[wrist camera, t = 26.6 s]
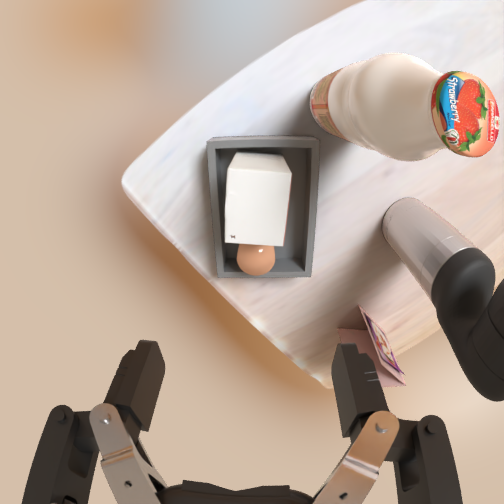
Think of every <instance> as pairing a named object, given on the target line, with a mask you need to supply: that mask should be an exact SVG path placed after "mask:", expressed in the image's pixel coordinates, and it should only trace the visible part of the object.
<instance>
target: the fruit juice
mask: <svg viewBox="0 0 504 504" xmlns="http://www.w3.org/2000/svg"><path fill="white" fill-rule="evenodd" d="M310 110H311V113H312V115H313V117H314V119H315V121H316V122H317V123H318V125H319V126H320V127H321V128H322V129H324V130H325V131H326V132H328V133H330V134H332V135H335V136H337V137H340V138H342V139H345V140H347V141H349V142H352V143H354V144H356V145H358V146H361V147H363V148H367V149H370V150H375V151H378V152H379V153H381V154H383V155H385V156H387V157H390V158H393V159H396V160H400V161H419V160H423V159H426V158H428V157H430V156H432V155H434V154H435V153H437V152H438V151H439V150H441V149H445V148H448V149H449V150H451V151H453V152H454V153H456V154H459V155H462V156H466V157H480V156H482V155H484V154H486V153H487V152H488V151H489V150H490V149H491V148H492V147H493V145H494V143H495V141H496V139H497V136H498V131H499V112H498V107H497V104H496V101H495V98H494V96H493V94H492V92H491V91H490V89H489V88H488V86H487V85H486V84H485V83H484V82H483V81H482V80H481V79H480V78H478V77H477V76H475V75H473V74H470V73H467V72H461V71H451V72H448V73H444V74H443V73H441V72H438V71H436V70H434V69H433V68H432V67H431V66H430V65H429V64H427V63H426V62H424V61H423V60H421V59H419V58H417V57H414V56H412V55H408V54H404V53H386V54H381V55H377V56H375V57H373V58H371V59H369V60H365V61H360V62H356V63H353V64H350V65H348V66H346V67H344V68H342V69H340V70H337V71H335V72H333V73H331V74H329V75H327V76H325V77H323V78H321V79H320V80H319V81H318V82H317V83H316V84H315V86H314V88H313V89H312V92H311V95H310Z"/></svg>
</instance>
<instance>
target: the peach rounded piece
mask: <svg viewBox="0 0 504 504" xmlns="http://www.w3.org/2000/svg"><path fill="white" fill-rule="evenodd" d="M237 263H238V265H239V267H240V268H241V269H242V271H244V272H245V273H247V274H249V275H254V276H259V275H263V274H265V273H267V272H269V271H270V270H271V269H272V267H273V266H274V263H275V250H274V246H269V245H253V244H239V248H238V253H237Z"/></svg>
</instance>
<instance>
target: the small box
mask: <svg viewBox="0 0 504 504" xmlns="http://www.w3.org/2000/svg"><path fill="white" fill-rule="evenodd" d="M291 181H292V173H291V171H290V169H289V167H288V165H287V163H286V161H285V159H284V157H283V155H282V154H281V153H270V152H258V151H243V150H237V152H236V154H235V156H234V158H233V160H232V161H231V163H230V165H229V167H228V169H227V182H226V200H225V243H239V244H253V245H269V246H284V240H285V232H286V224H287V216H288V208H289V199H290V190H291Z"/></svg>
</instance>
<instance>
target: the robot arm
mask: <svg viewBox="0 0 504 504" xmlns="http://www.w3.org/2000/svg"><path fill="white" fill-rule="evenodd" d="M382 230H383V235H384V237H385V239H386V240H387V242H388V243H389V244H390V246H391V247H392V248H393V249H394V251H395V252H396V253H397V255H398V256H399V257H400V259H401V260H402V261H403V263H404V264H405V265H406V267H407V268H408V269H409V271H410V272H411V273H412V275H413V276H414V277H415V279H416V280H417V282H418V283H419V284H420V286H421V287H422V289H423V290H424V291H425V293H426V294H427V296H428V297H429V298H430V300H431V301H432V303H433V304H434V306H435V308H436V312H437V318H438V321H439V323H440V325H441V327H442V329H443V331H444V333H445V334H446V336H447V338H448V340H449V342H450V344H451V347H452V349H453V351H454V353H455V355H456V357H457V359H458V361H459V364H460V366H461V368H462V370H463V371H464V373H465V375H466V377H467V378H468V380H469V381H470V383H471V384H472V385H473V387H474V388H475V389H476V390H477V391H478V392H479V393H480V394H481V395H482V396H484V397H485V398H487V399H489V400H492V401H503V400H504V279H503V280H502V282H501V283H500V284H499V286H498V287H497V289H496V291H495V292H494V294H493V290H494V285H495V269H494V266H493V264H492V262H491V260H490V259H489V258H488V257H487V256H486V255H485V254H484V253H483V252H482V251H481V250H479V249H478V248H477V247H476V246H475V245H474V244H473V243H472V242H471V241H469V240H468V239H467V238H466V237H465V236H463V235H462V234H461V233H460V232H459V231H458V230H457V229H456V228H455V227H454V226H452V225H451V224H450V223H449V222H447V221H446V220H445V219H444V218H442V217H441V216H440V215H439V214H437V213H436V212H435V211H433V210H432V209H431V208H429V207H427V206H426V205H424V204H423V203H422V202H420V201H419V200H417V199H415V198H403V199H400V200H398V201H397V202H395V203H394V204H393V205H392V206H391V207H390V208H389V209H388V211H387V212H386V214H385V216H384V220H383V225H382ZM492 295H493V296H492ZM164 374H165V362H164V360H163V357H162V354H161V351H160V348H159V346H158V343H157V342H156V341H148V340H140V341H139V342H138V345H137V347H136V349H135V350H129V351H128V352H127V353H126V354H125V356H123V358H122V360H121V362H120V364H119V368H118V369H117V371H116V375H115V376H114V379H113V381H112V383H111V386H110V388H109V391H108V393H107V396H106V398H105V400H104V402H103V403H102V404H99V405H97V406H95V407H94V408H93V409H92V411H81V412H73V411H72V409H71V408H70V407H68V406H66V405H59V406H57V407H55V408H54V409H52V411H51V412H50V414H49V417H48V420H47V422H46V425H45V427H44V430H43V433H42V436H41V439H40V441H39V444H38V447H37V450H36V453H35V457H34V460H33V463H32V466H31V469H30V473H29V477H28V480H27V484H26V488H25V492H24V496H23V501H22V504H88V499H89V494H90V489H91V484H92V480H93V475H94V471H95V466H96V462H97V458H98V454H99V451H100V452H101V455H102V458H103V460H101V467H102V469H103V472H104V474H105V477H106V479H107V481H108V484H109V486H110V488H111V490H112V492H113V494H114V497H115V499H116V501H117V503H118V504H362V502H363V501H364V499H365V498H366V496H367V495H368V493H369V491H370V490H371V488H372V486H373V484H374V483H375V481H376V479H377V477H378V475H379V473H378V471H379V468H380V466H381V465H382V463H383V461H393V464H394V470H395V478H396V486H397V495H398V504H463V502H462V496H461V490H460V484H459V480H458V474H457V470H456V465H455V461H454V457H453V453H452V448H451V445H450V441H449V438H448V434H447V430H446V427H445V424H444V422H443V420H442V419H441V418H439V417H438V416H435V415H428V416H425V417H423V418H422V419H421V420H420V421H409V420H402V419H399V418H397V417H396V416H395V415H394V414H392V413H391V412H390V411H389V409H388V406H387V403H386V400H385V396H384V393H383V390H382V387H381V383H380V380H379V377H378V374H377V373H376V368H375V365H374V362H373V360H372V359H371V358H370V357H369V356H368V355H367V353H361V354H359V351H358V348H357V345H356V343H354V342H353V343H341V344H338V345H337V349H336V352H335V356H334V360H333V363H332V380H333V385H334V390H335V396H336V400H337V407H338V412H339V418H340V424H341V430H342V436H343V438H345V437H350V439H351V445H350V446H349V448H348V450H347V451H346V453H345V454H344V456H343V457H342V459H341V460H340V462H339V463H338V465H337V466H336V468H335V469H334V470H333V472H332V473H331V475H330V476H329V477H328V479H327V480H326V481H325V483H324V484H323V485H322V486H321V488H320V489H319V490H318V491H317V493H316V494H315V495H314V497H313V498H312V497H311V496H309V495H307V494H305V493H302V492H299V491H296V490H291V489H289V488H290V487H289V485H284V486H260V487H255V488H251V489H245V490H239V491H232V490H229V489H225V488H222V487H219V486H216V485H213V484H209V483H203V482H194V481H187V480H183V483H182V484H180V485H174V486H170V487H168V486H167V484H166V483H165V481H164V480H163V478H162V477H161V476H160V474H159V473H158V472H157V470H156V469H155V467H154V465H153V463H152V462H151V460H150V458H149V456H148V454H147V452H146V450H145V448H144V446H143V444H142V442H141V440H140V438H139V433H140V430H142V431H147V432H148V431H149V427H150V424H151V420H152V416H153V413H154V409H155V405H156V402H157V398H158V395H159V391H160V388H161V384H162V381H163V377H164Z"/></svg>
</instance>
